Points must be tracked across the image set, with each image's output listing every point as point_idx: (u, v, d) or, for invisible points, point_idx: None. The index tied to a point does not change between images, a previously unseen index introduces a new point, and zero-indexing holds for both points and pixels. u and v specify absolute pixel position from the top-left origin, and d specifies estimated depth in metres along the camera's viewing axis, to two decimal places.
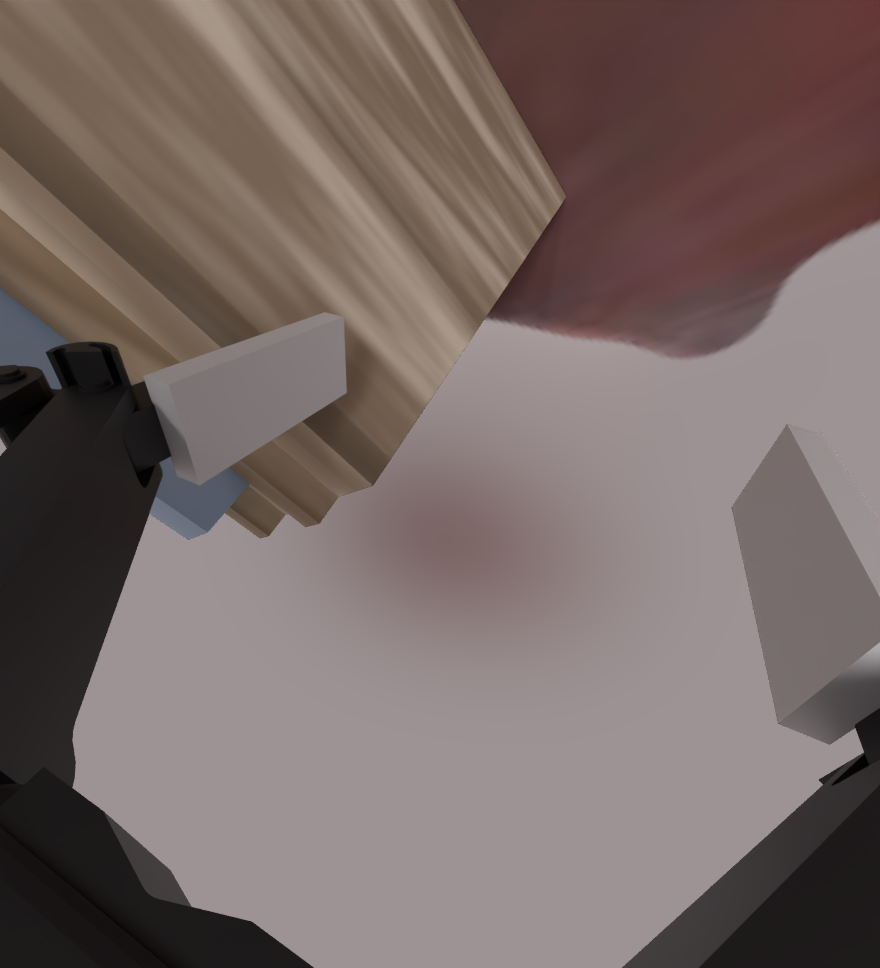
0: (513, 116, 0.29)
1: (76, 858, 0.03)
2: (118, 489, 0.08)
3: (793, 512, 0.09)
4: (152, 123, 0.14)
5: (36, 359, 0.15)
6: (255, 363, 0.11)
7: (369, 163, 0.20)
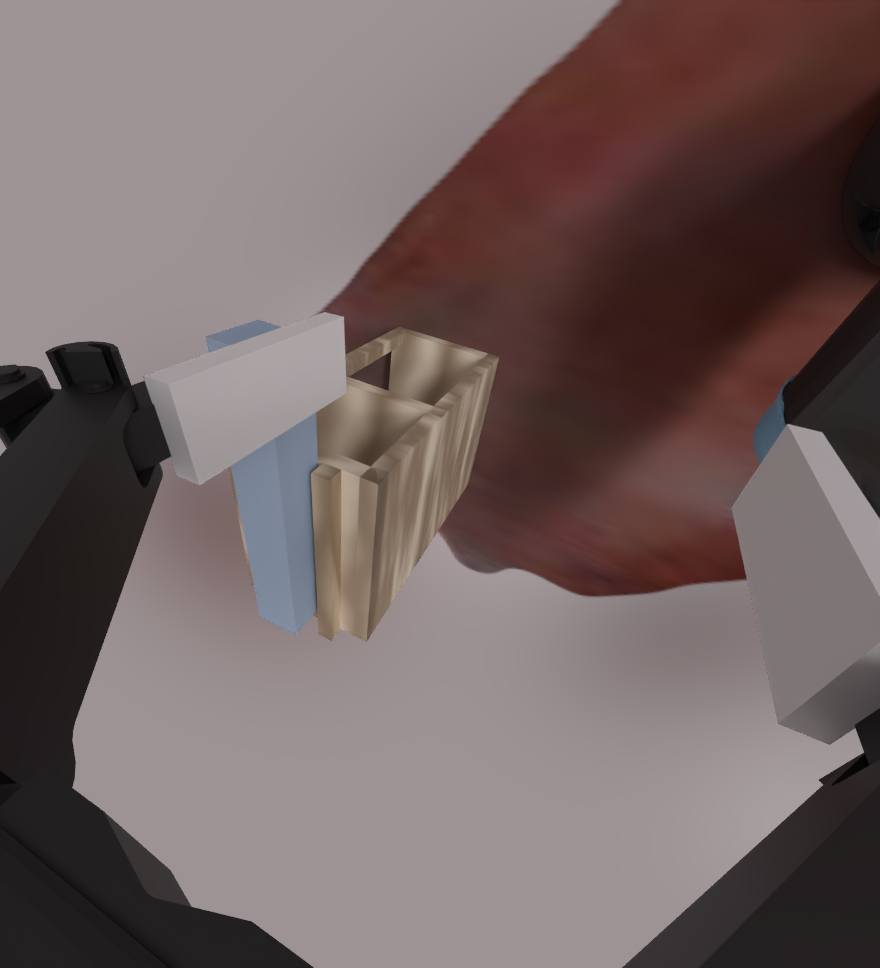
0: (475, 450, 0.60)
1: (76, 858, 0.03)
2: (118, 489, 0.08)
3: (794, 513, 0.09)
4: (399, 517, 0.37)
5: (301, 565, 0.34)
6: (255, 363, 0.11)
7: (429, 503, 0.46)
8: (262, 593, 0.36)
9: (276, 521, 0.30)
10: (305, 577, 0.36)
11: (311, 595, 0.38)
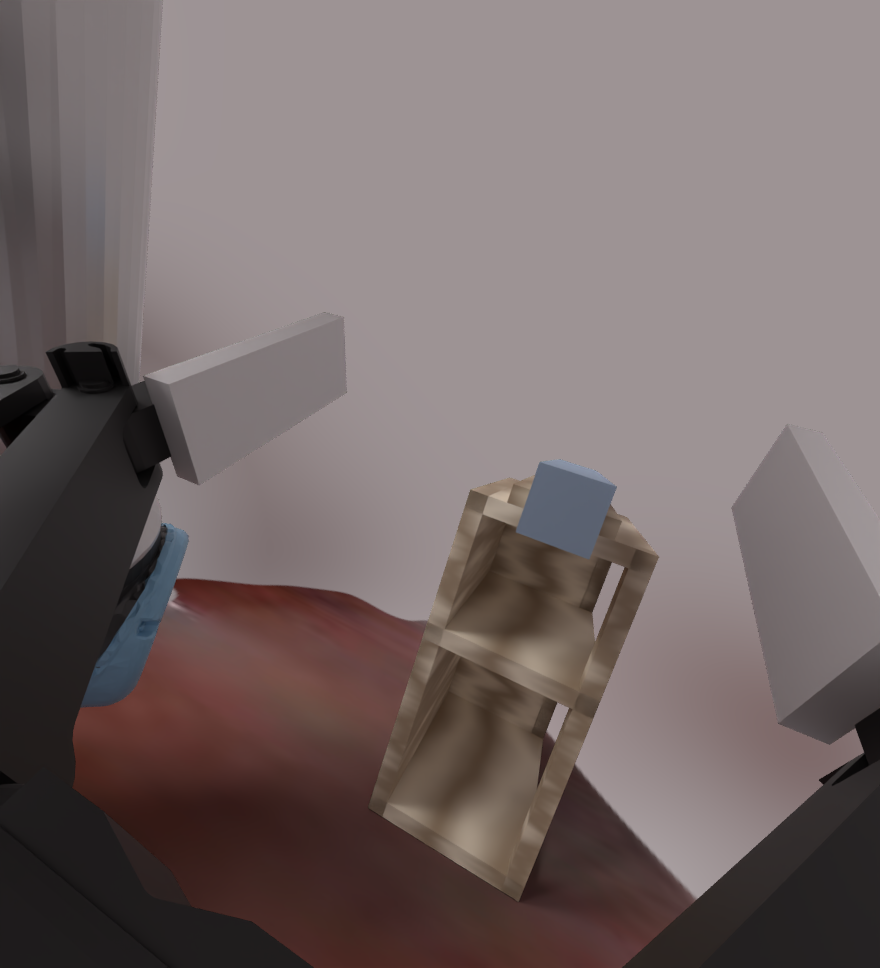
0: None
1: (76, 858, 0.03)
2: (118, 489, 0.08)
3: (793, 513, 0.09)
4: None
5: None
6: (255, 363, 0.11)
7: None
8: None
9: None
10: None
11: None
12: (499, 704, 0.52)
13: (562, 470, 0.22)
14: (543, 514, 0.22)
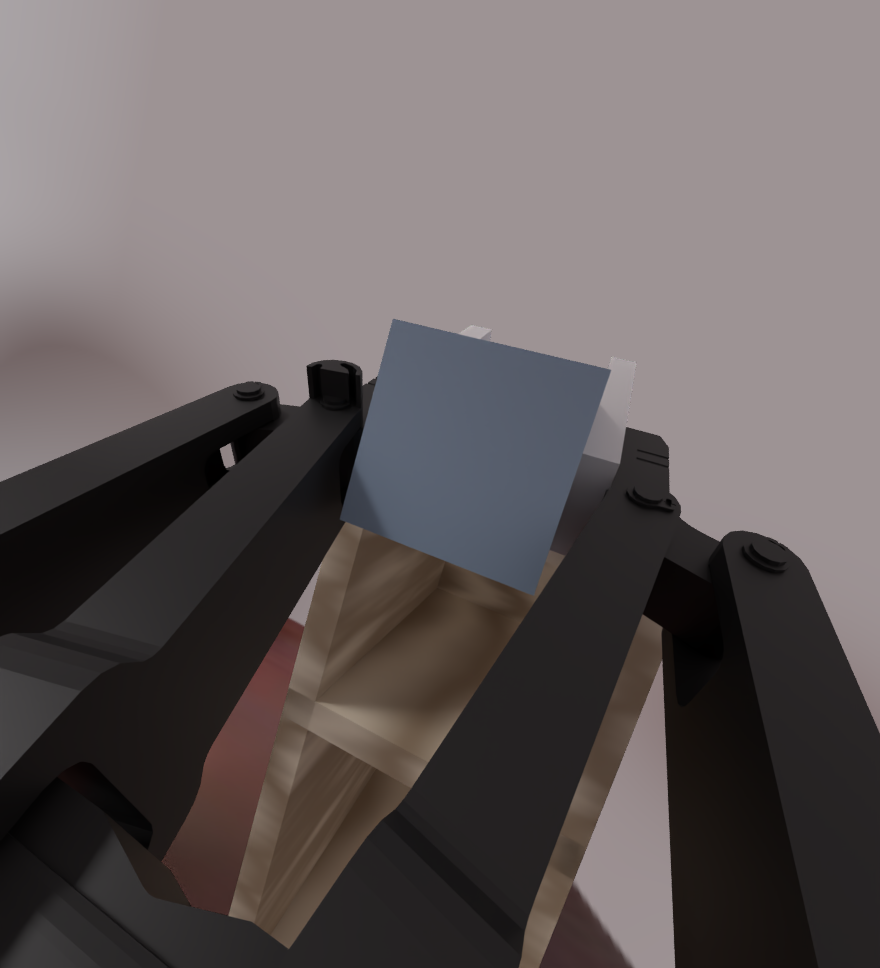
0: None
1: (76, 858, 0.03)
2: (321, 509, 0.08)
3: None
4: None
5: None
6: None
7: None
8: None
9: None
10: None
11: None
12: None
13: (453, 336, 0.08)
14: (407, 467, 0.08)
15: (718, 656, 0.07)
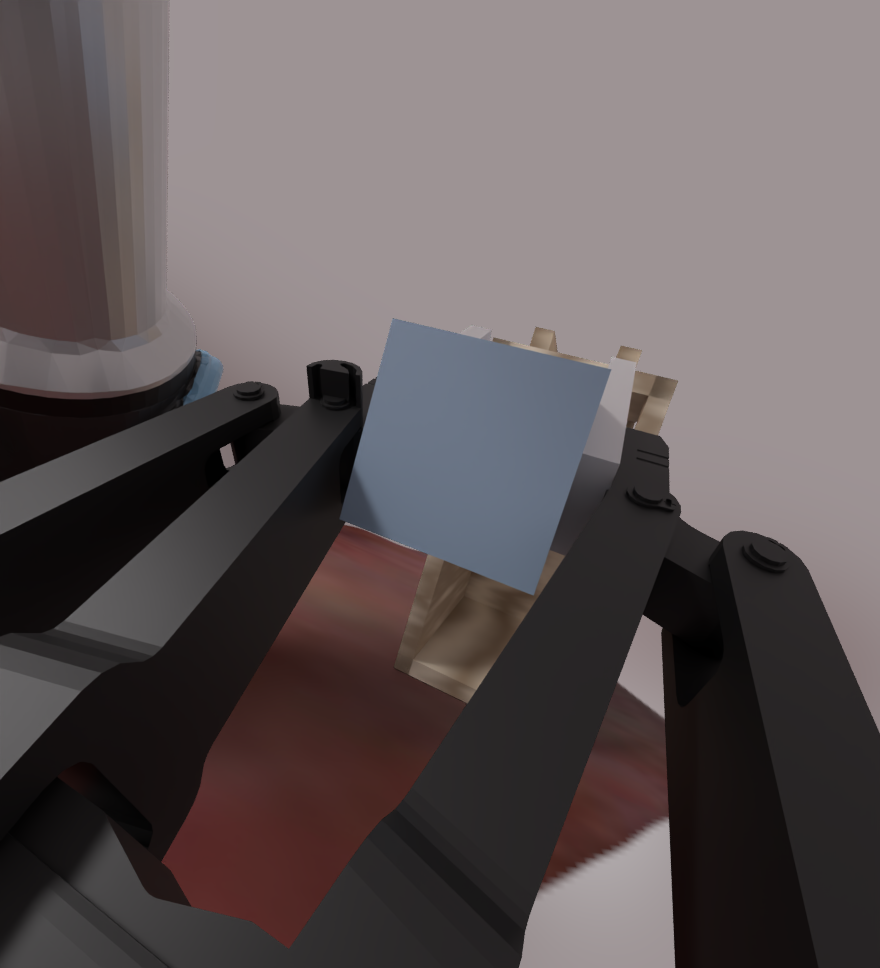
0: None
1: (76, 858, 0.03)
2: (321, 509, 0.08)
3: None
4: None
5: None
6: None
7: None
8: None
9: None
10: None
11: None
12: (514, 604, 0.53)
13: (453, 335, 0.08)
14: (407, 467, 0.08)
15: (718, 656, 0.07)
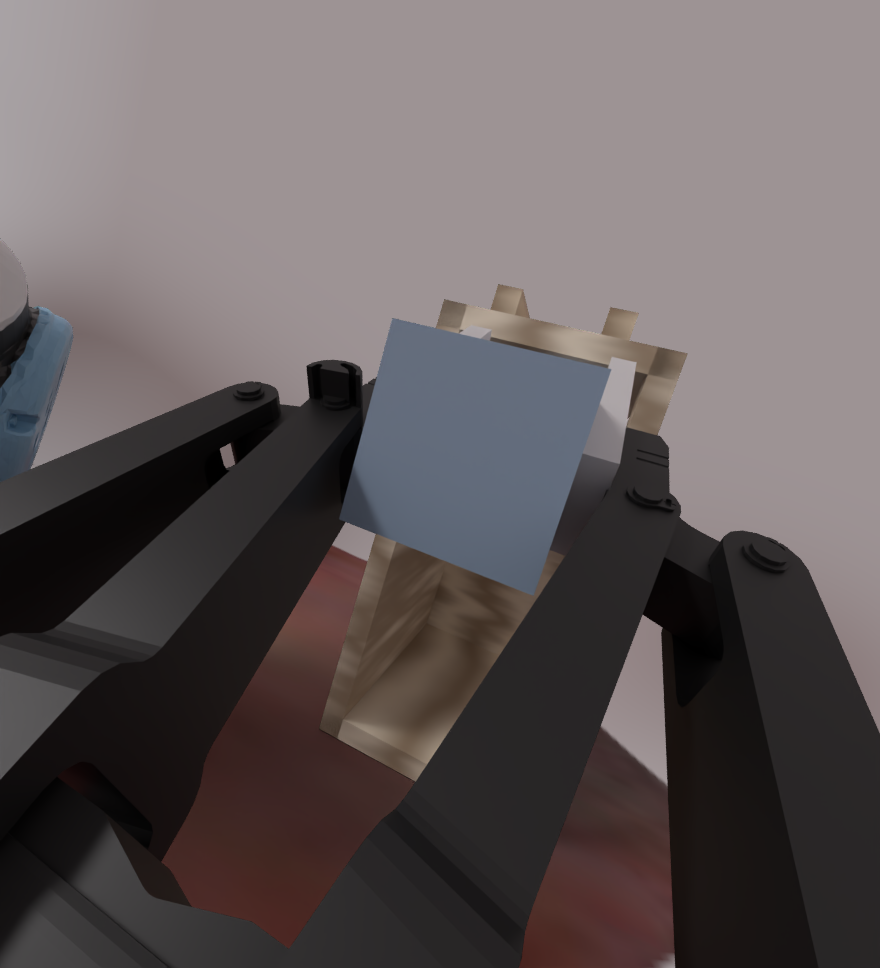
0: None
1: (76, 858, 0.03)
2: (321, 509, 0.08)
3: None
4: None
5: None
6: None
7: None
8: None
9: None
10: None
11: None
12: (485, 634, 0.45)
13: (453, 335, 0.08)
14: (406, 466, 0.08)
15: (718, 656, 0.07)
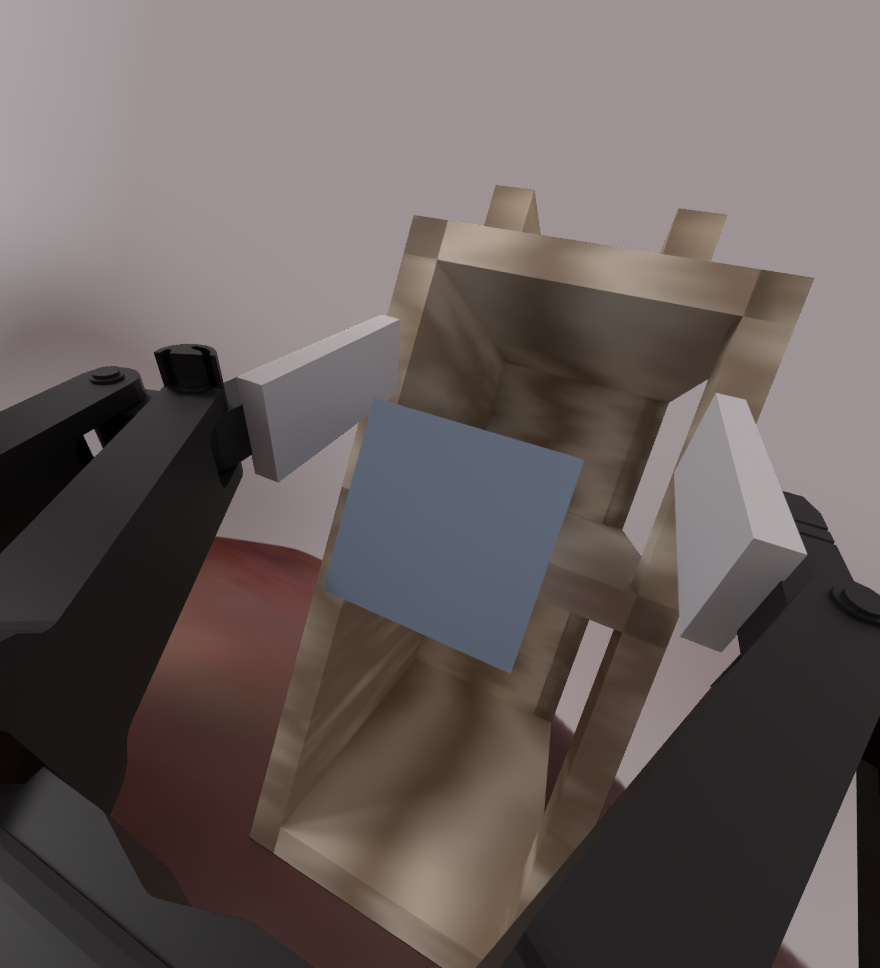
0: None
1: (76, 858, 0.03)
2: (200, 489, 0.08)
3: (710, 466, 0.10)
4: None
5: None
6: (329, 364, 0.11)
7: None
8: None
9: None
10: None
11: None
12: (486, 674, 0.36)
13: (432, 418, 0.08)
14: (388, 542, 0.08)
15: None
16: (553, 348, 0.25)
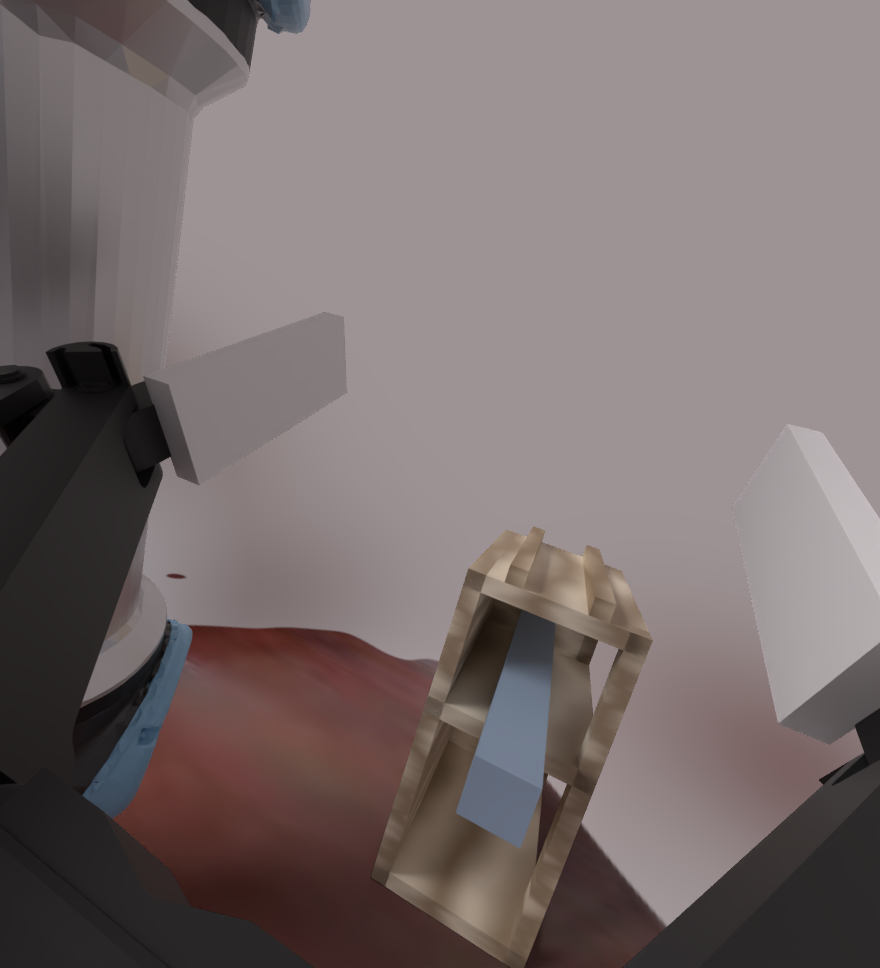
0: None
1: (76, 858, 0.03)
2: (118, 489, 0.08)
3: (794, 513, 0.09)
4: None
5: (509, 647, 0.42)
6: (255, 363, 0.11)
7: None
8: (547, 631, 0.45)
9: (512, 664, 0.36)
10: None
11: None
12: None
13: (495, 766, 0.24)
14: (479, 801, 0.25)
15: None
16: None
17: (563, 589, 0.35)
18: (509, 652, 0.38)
